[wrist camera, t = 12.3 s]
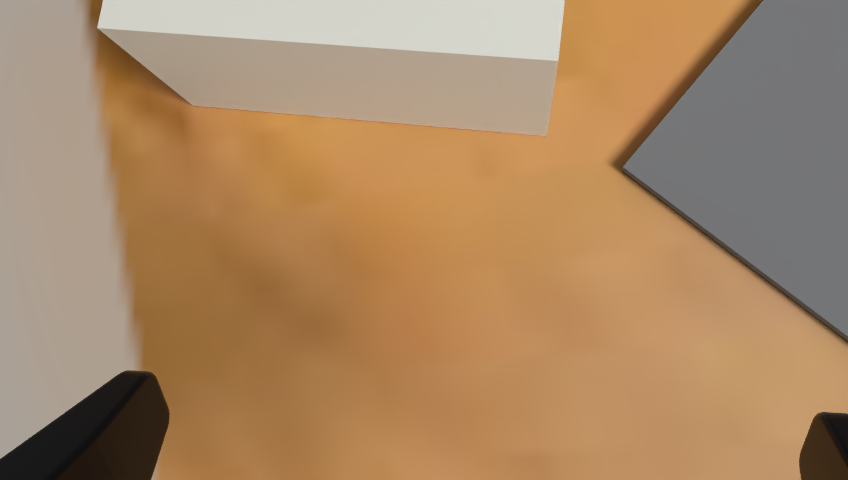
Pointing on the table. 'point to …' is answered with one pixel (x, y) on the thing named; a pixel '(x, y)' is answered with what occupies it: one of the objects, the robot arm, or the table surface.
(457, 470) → the table surface
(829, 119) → the mat
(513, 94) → the cover
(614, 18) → the table surface
